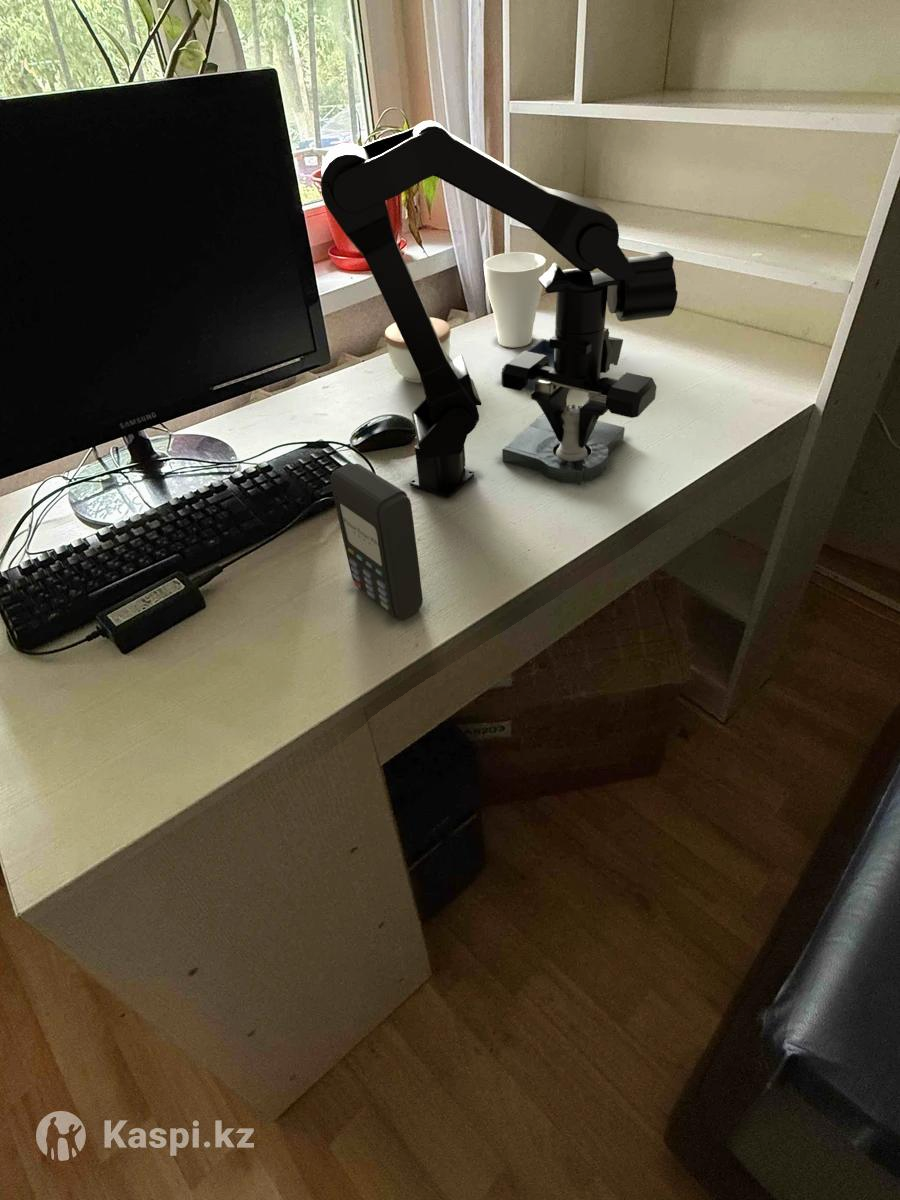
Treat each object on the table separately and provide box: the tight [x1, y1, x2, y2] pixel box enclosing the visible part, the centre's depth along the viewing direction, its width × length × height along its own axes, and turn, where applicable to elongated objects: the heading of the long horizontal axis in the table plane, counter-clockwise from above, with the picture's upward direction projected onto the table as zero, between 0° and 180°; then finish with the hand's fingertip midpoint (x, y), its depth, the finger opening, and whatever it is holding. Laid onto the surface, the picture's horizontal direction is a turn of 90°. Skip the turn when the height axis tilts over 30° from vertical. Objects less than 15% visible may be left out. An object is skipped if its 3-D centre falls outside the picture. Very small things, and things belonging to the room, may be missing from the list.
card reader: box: [330, 462, 423, 620], centre depth 70 cm, size 9×4×15 cm, turn 42°
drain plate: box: [501, 412, 626, 486], centre depth 94 cm, size 14×13×2 cm
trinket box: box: [384, 317, 452, 384], centre depth 113 cm, size 11×11×9 cm
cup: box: [483, 251, 547, 349], centre depth 119 cm, size 10×10×14 cm
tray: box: [501, 338, 554, 392], centre depth 112 cm, size 13×10×3 cm
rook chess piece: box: [555, 403, 588, 461], centre depth 90 cm, size 4×4×8 cm
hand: (572, 443), depth 91 cm, fingers closed on rook chess piece, 3 cm apart
